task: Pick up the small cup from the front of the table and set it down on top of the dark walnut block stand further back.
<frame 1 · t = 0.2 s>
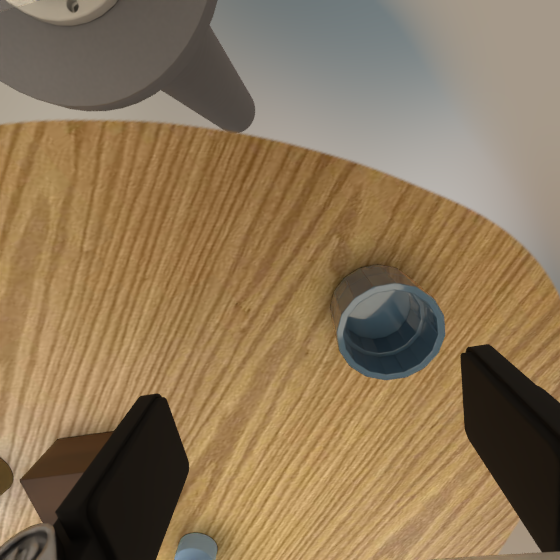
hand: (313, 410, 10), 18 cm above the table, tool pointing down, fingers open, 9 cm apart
small cup: (373, 305, 28), on the table
stand: (117, 470, 36), on the table
spotlight: (201, 543, 38), on the table
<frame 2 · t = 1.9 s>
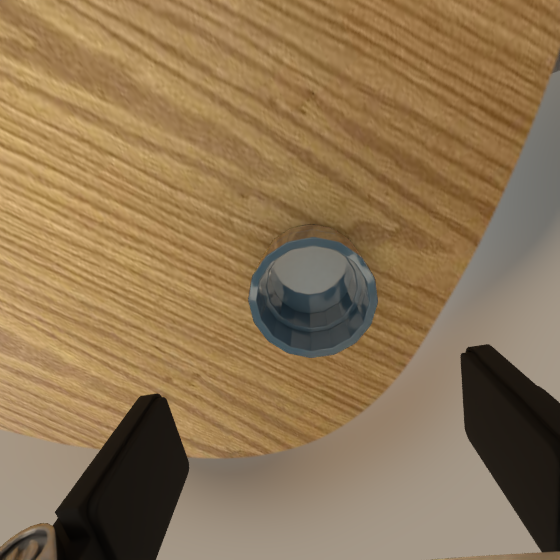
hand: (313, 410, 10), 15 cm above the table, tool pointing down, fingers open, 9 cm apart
small cup: (310, 273, 24), on the table
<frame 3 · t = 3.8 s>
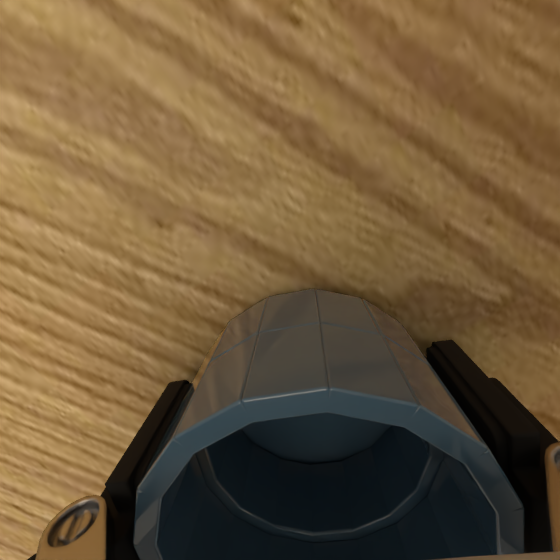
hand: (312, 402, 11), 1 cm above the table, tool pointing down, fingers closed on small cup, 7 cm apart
small cup: (311, 385, 12), on the table, touching gripper
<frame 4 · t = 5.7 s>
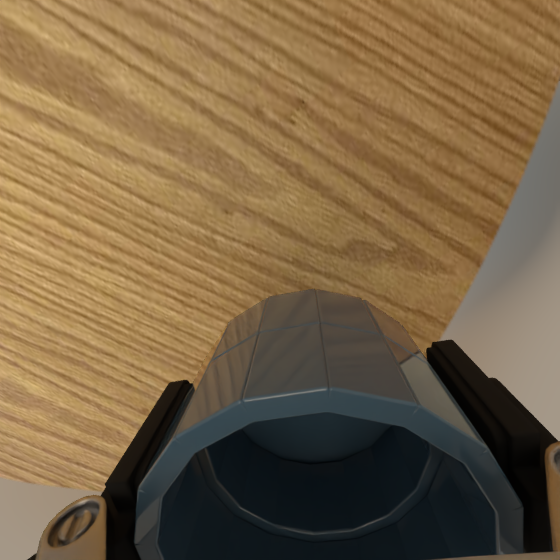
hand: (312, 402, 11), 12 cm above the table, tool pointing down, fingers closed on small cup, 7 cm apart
small cup: (311, 385, 12), point 11 cm above the table, touching gripper
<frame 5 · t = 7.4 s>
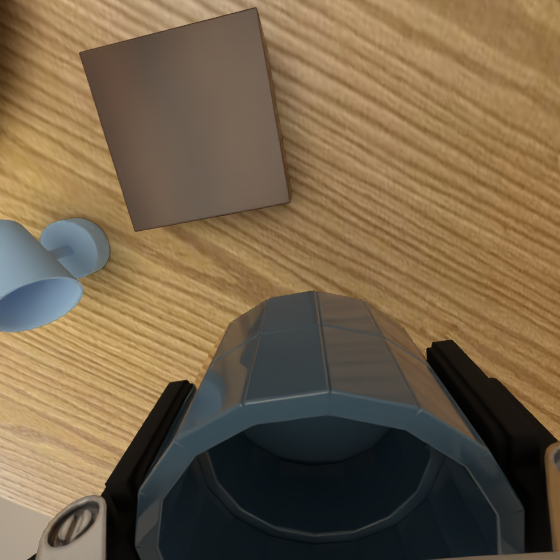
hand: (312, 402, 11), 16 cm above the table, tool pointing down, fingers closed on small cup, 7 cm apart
small cup: (312, 386, 12), point 15 cm above the table, touching gripper
stand: (211, 140, 24), on the table
spotlight: (88, 249, 27), on the table
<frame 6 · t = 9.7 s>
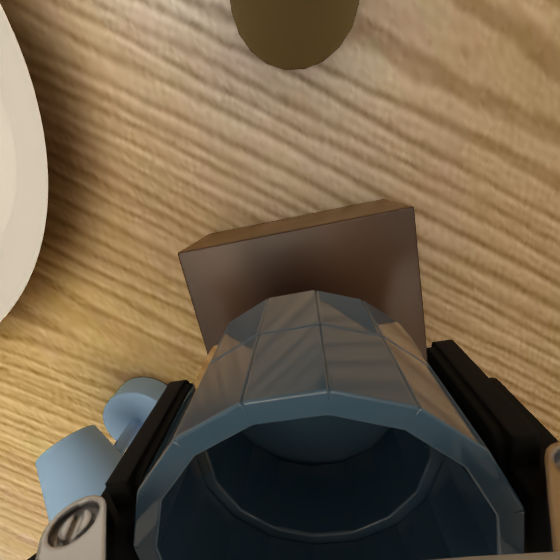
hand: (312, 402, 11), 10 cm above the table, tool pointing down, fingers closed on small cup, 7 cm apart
small cup: (312, 386, 12), point 9 cm above the table, touching gripper
stand: (309, 299, 20), on the table
spotlight: (154, 407, 23), on the table
when the fingers open (6 cm above the table, at t = 11.3 s): small cup stays where it is, resting on stand.
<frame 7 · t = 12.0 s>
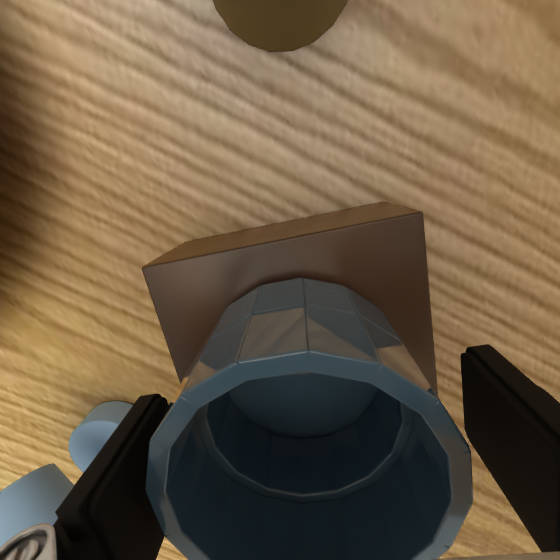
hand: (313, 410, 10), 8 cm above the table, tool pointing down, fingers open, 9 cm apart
small cup: (301, 366, 13), point 5 cm above the table, touching stand
stand: (300, 314, 18), on the table
spotlight: (129, 433, 21), on the table
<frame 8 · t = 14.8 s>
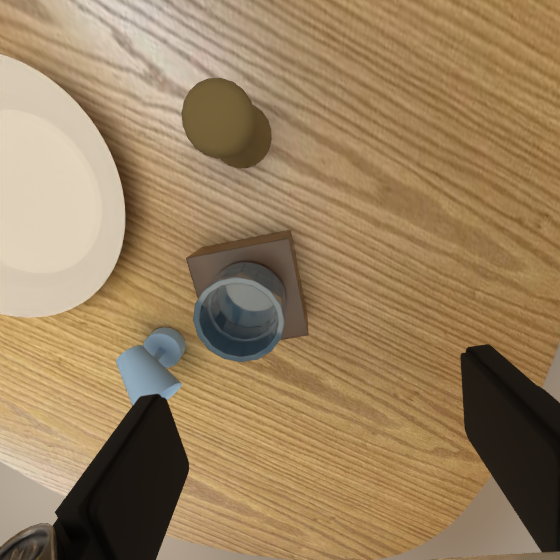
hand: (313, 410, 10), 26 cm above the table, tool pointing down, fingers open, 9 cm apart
cream plate: (29, 196, 36), on the table
small cup: (248, 298, 32), point 5 cm above the table, touching stand
cork: (241, 136, 33), on the table
stand: (255, 282, 37), on the table
spotlight: (170, 345, 40), on the table
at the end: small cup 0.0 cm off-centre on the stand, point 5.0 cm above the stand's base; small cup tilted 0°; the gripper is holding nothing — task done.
